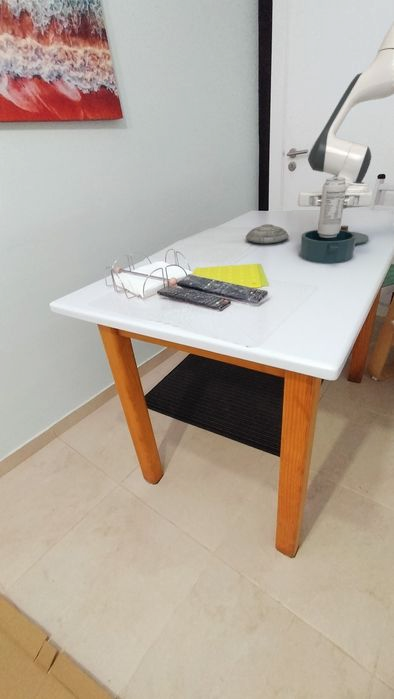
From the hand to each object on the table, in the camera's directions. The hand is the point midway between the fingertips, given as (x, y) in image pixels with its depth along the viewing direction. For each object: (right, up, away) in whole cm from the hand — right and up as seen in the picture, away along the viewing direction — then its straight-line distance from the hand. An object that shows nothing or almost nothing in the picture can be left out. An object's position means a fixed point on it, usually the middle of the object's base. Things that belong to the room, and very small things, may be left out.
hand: (332, 203), depth 93 cm
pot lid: (+12, -3, +20) cm, 23 cm away
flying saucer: (-13, -2, +27) cm, 30 cm away
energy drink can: (+1, -7, +6) cm, 9 cm away
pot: (+1, -12, +8) cm, 15 cm away
